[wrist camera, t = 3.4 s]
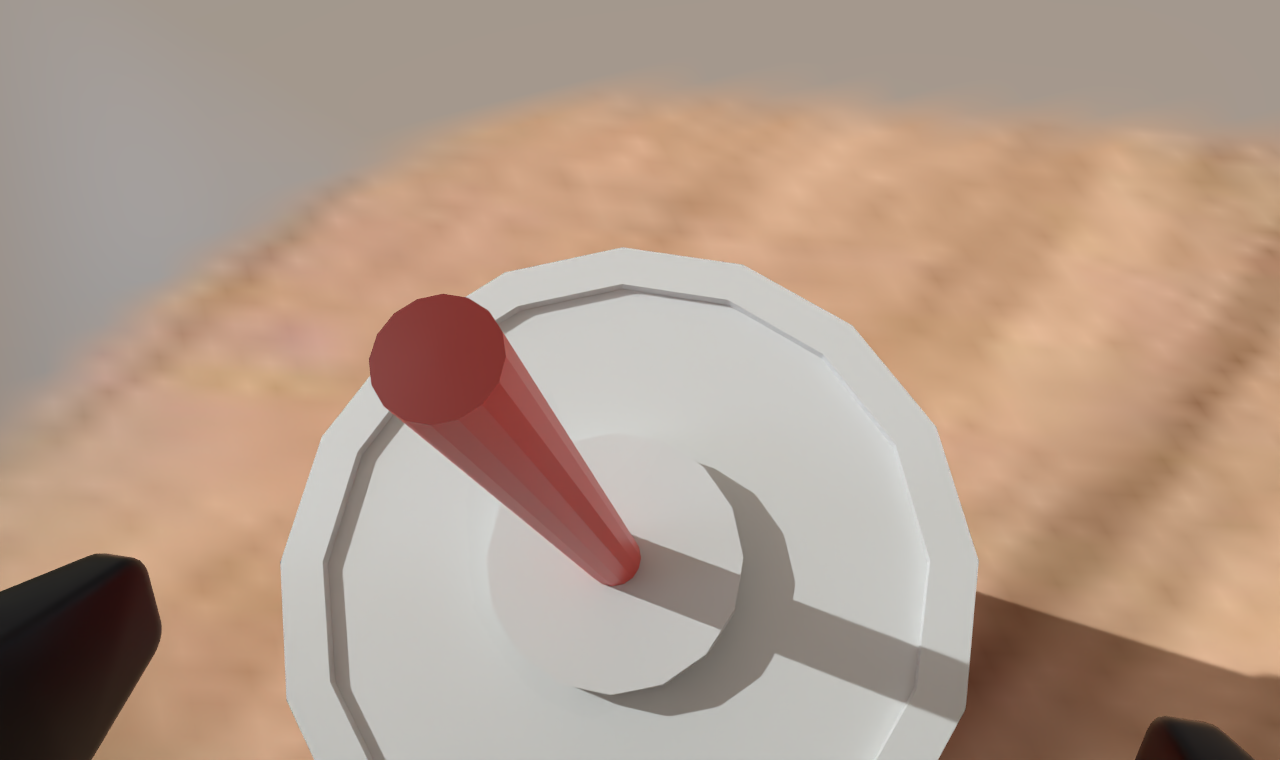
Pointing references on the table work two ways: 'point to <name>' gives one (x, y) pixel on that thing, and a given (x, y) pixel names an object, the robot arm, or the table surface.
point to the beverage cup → (628, 532)
